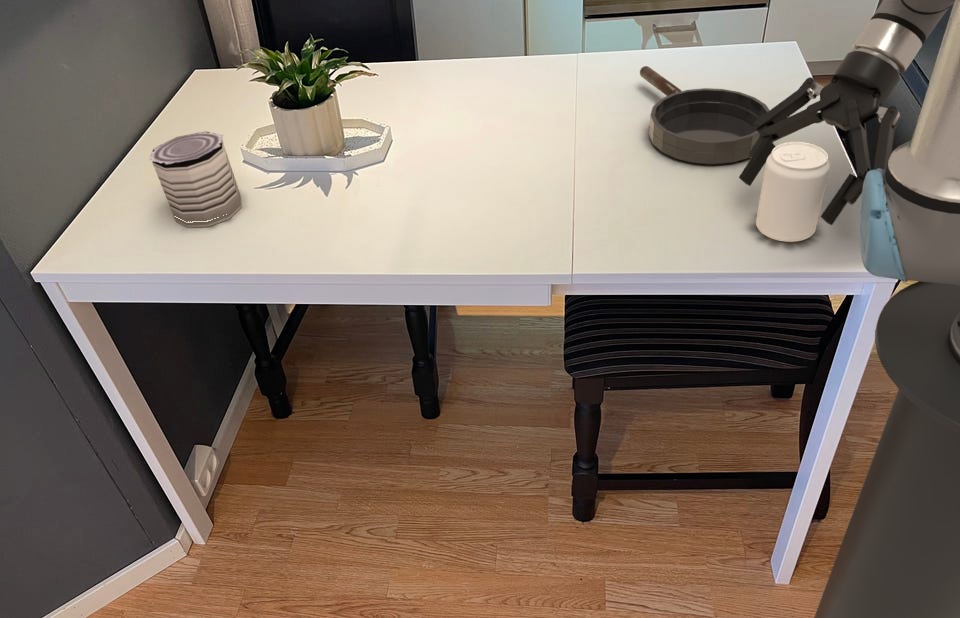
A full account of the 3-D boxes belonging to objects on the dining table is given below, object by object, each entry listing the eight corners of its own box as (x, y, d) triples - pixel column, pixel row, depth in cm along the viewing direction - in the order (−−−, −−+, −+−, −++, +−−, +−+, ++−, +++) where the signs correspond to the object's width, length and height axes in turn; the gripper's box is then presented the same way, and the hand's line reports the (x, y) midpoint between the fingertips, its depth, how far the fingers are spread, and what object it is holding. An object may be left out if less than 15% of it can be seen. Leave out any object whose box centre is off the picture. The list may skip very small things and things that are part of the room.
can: (172, 234, 125) (145, 168, 118) (175, 199, 134) (150, 135, 126) (244, 219, 127) (222, 153, 119) (242, 185, 136) (222, 121, 128)
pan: (791, 149, 130) (796, 124, 127) (687, 178, 126) (690, 152, 123) (724, 102, 144) (727, 79, 141) (629, 127, 140) (630, 104, 137)
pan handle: (684, 101, 141) (685, 89, 139) (673, 104, 140) (674, 92, 139) (647, 74, 150) (648, 63, 149) (637, 76, 150) (637, 65, 148)
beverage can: (822, 243, 110) (841, 167, 102) (763, 247, 110) (777, 172, 102) (805, 211, 116) (820, 137, 108) (749, 214, 116) (760, 142, 109)
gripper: (972, 105, 100) (872, 247, 104) (805, 51, 116) (724, 176, 120) (961, 78, 94) (856, 230, 98) (787, 25, 111) (703, 157, 114)
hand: (783, 200), depth 109 cm, fingers open, 13 cm apart
